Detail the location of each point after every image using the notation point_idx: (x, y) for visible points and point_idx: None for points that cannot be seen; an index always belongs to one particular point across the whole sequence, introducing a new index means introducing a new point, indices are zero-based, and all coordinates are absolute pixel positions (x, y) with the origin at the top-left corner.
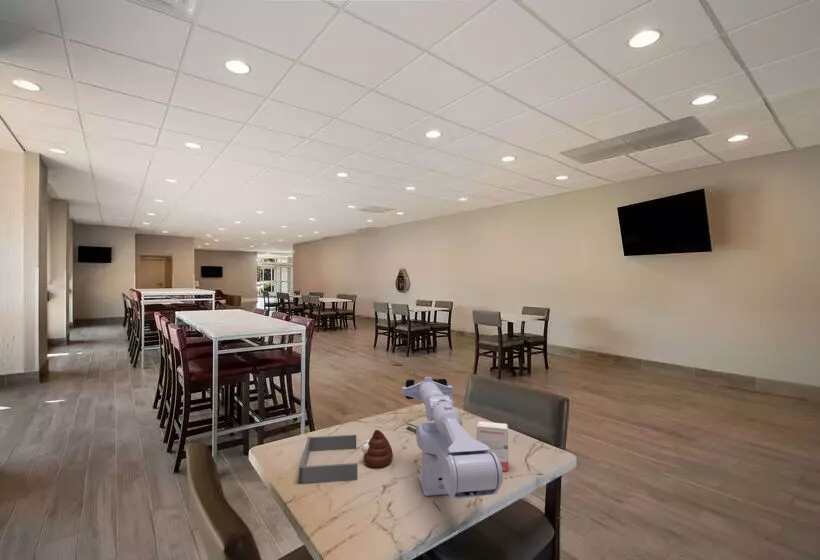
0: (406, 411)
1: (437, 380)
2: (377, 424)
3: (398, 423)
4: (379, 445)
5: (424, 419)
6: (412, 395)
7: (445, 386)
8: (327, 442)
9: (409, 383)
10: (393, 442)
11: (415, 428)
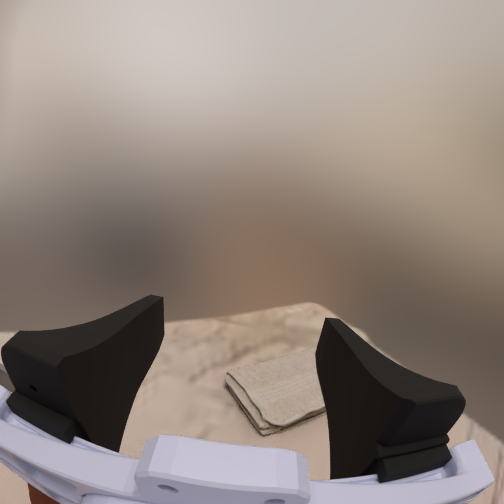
0: (250, 320)
1: (371, 379)
2: (166, 348)
3: (214, 356)
4: (42, 496)
5: (276, 366)
6: (50, 495)
7: (449, 500)
8: (9, 381)
9: (26, 378)
10: (160, 433)
11: (241, 397)
